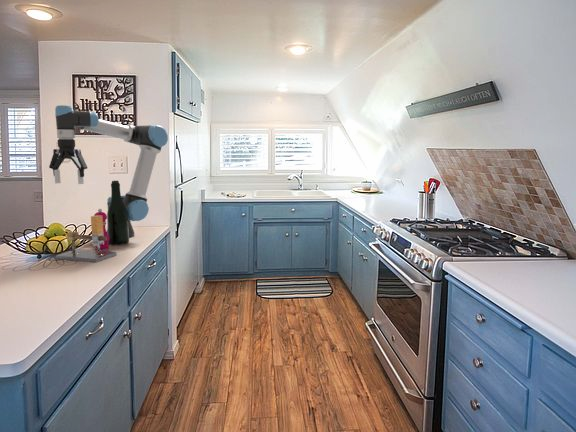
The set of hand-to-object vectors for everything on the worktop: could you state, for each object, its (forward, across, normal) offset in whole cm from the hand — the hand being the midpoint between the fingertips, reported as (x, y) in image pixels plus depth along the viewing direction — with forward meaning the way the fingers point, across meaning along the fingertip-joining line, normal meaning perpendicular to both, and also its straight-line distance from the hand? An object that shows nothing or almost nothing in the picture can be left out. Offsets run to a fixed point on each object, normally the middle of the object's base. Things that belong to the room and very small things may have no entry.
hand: (69, 183), depth 222 cm
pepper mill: (+33, +11, +7) cm, 35 cm away
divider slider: (+31, +23, -10) cm, 39 cm away
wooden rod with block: (+31, +17, -10) cm, 37 cm away
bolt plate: (+33, +16, -10) cm, 38 cm away
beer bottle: (+33, +11, +20) cm, 40 cm away
